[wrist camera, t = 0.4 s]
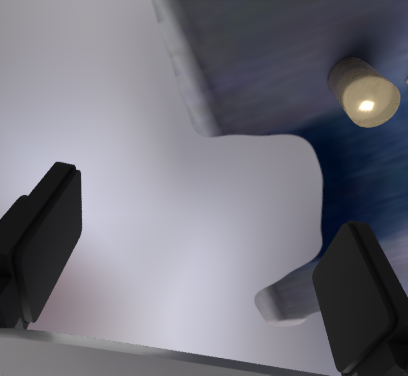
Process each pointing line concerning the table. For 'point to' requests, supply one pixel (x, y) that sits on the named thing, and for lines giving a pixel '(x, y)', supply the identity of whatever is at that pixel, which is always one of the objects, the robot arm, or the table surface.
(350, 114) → the gold metallic cylinder
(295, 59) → the table surface
